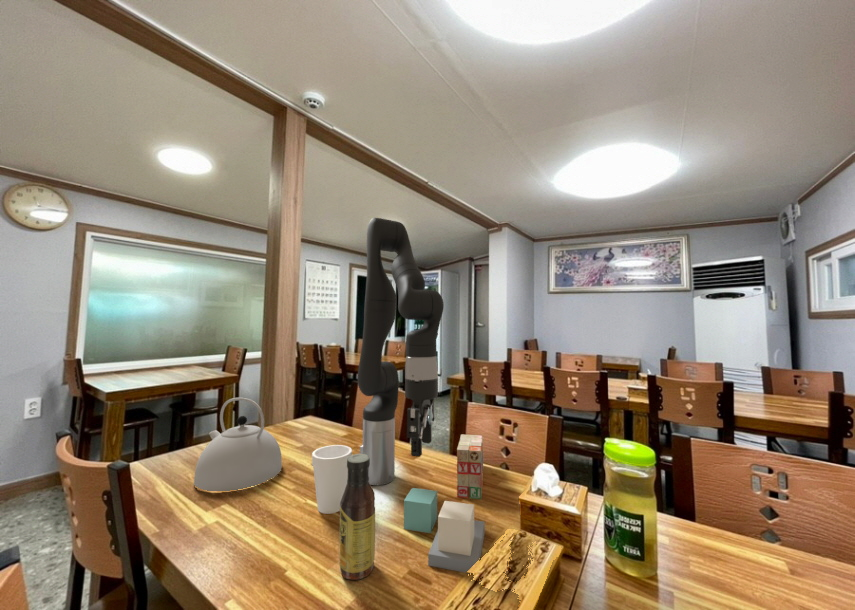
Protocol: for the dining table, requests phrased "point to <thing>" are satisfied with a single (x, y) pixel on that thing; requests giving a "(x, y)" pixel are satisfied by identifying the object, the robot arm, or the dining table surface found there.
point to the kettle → (238, 456)
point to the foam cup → (330, 476)
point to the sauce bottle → (357, 521)
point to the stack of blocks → (470, 466)
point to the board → (458, 560)
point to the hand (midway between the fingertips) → (421, 448)
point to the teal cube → (420, 510)
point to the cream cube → (456, 528)
